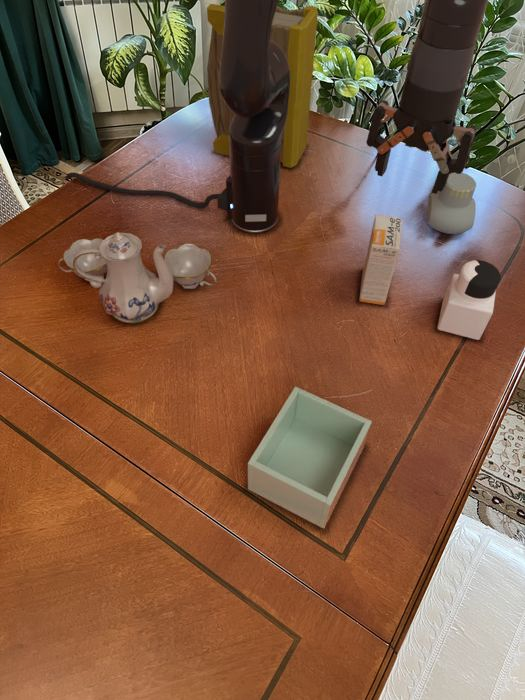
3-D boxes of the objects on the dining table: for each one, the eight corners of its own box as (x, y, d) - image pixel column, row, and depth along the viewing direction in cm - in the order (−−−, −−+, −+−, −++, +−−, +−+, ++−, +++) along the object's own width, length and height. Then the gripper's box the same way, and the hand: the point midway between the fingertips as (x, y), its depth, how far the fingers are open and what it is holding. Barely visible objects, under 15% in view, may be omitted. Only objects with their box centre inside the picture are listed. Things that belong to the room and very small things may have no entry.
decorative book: (309, 145, 131) (321, 1, 107) (293, 171, 124) (303, 24, 101) (228, 127, 135) (223, -16, 111) (209, 152, 128) (199, 6, 105)
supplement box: (385, 306, 100) (401, 250, 90) (358, 302, 101) (370, 245, 91) (388, 274, 105) (403, 217, 95) (362, 270, 106) (374, 213, 96)
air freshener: (468, 244, 111) (485, 201, 103) (425, 238, 112) (438, 196, 104) (466, 208, 118) (481, 166, 110) (425, 203, 118) (437, 161, 110)
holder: (247, 489, 79) (247, 463, 73) (292, 415, 86) (295, 386, 80) (323, 529, 76) (330, 505, 69) (363, 448, 83) (372, 421, 77)
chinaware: (218, 268, 108) (215, 189, 96) (215, 329, 96) (211, 248, 84) (68, 268, 107) (46, 188, 95) (47, 330, 95) (18, 248, 83)
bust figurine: (483, 311, 100) (507, 260, 91) (479, 341, 96) (504, 291, 86) (442, 301, 101) (462, 250, 92) (436, 330, 97) (456, 279, 88)
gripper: (499, 75, 73) (461, 183, 85) (394, 48, 77) (372, 155, 89) (484, 102, 69) (446, 211, 81) (373, 72, 72) (354, 180, 85)
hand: (408, 181), depth 85 cm, fingers open, 8 cm apart
